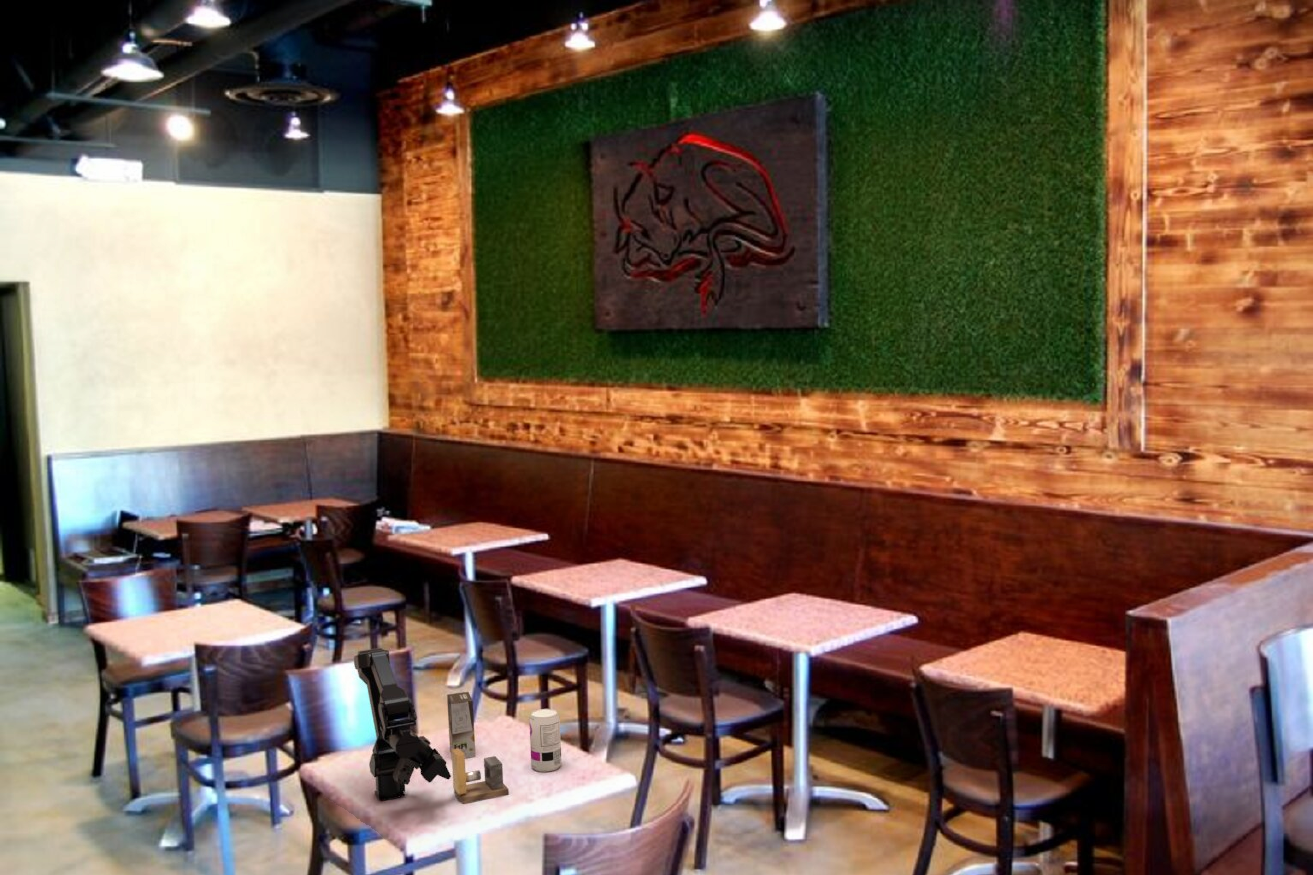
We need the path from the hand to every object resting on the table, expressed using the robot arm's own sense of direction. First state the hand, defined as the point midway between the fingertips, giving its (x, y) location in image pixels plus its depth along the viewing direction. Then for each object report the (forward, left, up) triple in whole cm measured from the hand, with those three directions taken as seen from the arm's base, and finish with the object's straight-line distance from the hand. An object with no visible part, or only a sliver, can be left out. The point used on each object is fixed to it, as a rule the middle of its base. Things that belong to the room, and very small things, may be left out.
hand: (449, 777), depth 301 cm
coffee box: (+12, +31, -6) cm, 34 cm away
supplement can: (+29, +9, -6) cm, 31 cm away
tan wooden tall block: (+5, 0, -4) cm, 6 cm away
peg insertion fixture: (+9, 0, -6) cm, 11 cm away
